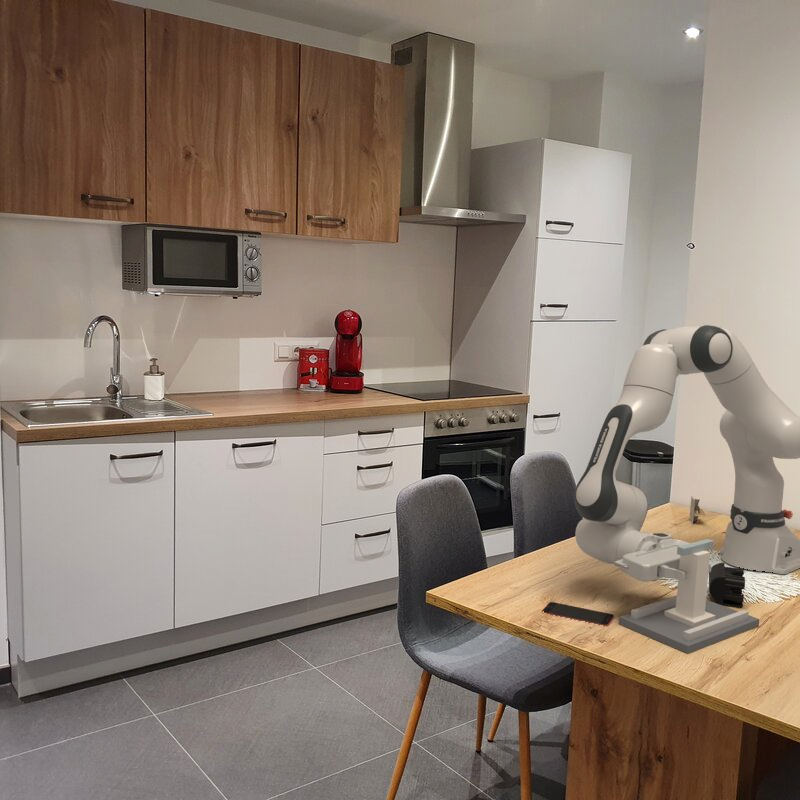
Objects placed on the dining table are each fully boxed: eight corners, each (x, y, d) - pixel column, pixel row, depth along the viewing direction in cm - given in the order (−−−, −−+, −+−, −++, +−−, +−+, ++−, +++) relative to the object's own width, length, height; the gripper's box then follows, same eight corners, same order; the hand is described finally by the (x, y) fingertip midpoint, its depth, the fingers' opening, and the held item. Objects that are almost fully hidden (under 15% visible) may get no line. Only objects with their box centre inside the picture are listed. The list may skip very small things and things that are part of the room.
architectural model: (701, 521, 247) (703, 496, 246) (705, 527, 240) (707, 502, 239) (689, 520, 248) (691, 495, 247) (692, 526, 241) (694, 501, 240)
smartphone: (549, 600, 178) (615, 614, 172) (549, 603, 178) (615, 617, 172) (540, 611, 172) (608, 626, 166) (540, 614, 172) (607, 628, 166)
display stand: (659, 617, 168) (665, 542, 166) (689, 607, 174) (695, 535, 172) (689, 629, 162) (696, 552, 160) (719, 618, 168) (726, 544, 166)
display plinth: (690, 600, 182) (691, 587, 181) (758, 626, 169) (760, 612, 169) (618, 624, 168) (619, 609, 167) (687, 653, 155) (688, 638, 154)
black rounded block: (707, 589, 189) (709, 560, 189) (740, 594, 187) (743, 565, 186) (707, 604, 180) (710, 574, 179) (742, 609, 178) (745, 579, 177)
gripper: (609, 546, 170) (666, 566, 159) (670, 531, 183) (727, 549, 172) (607, 576, 171) (664, 598, 160) (668, 559, 183) (725, 578, 172)
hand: (697, 572), depth 166 cm, fingers open, 7 cm apart
